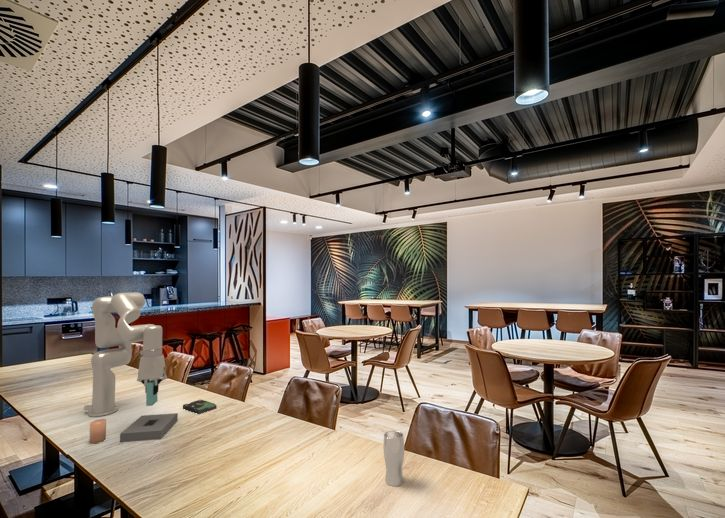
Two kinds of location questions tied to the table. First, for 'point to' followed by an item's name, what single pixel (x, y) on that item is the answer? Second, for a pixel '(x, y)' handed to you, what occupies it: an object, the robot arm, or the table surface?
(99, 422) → the round terracotta peg
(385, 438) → the beer glass
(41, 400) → the table surface
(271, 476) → the table surface
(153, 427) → the socket plate
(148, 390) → the teal bar
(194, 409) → the disk drive
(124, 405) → the table surface
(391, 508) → the table surface
